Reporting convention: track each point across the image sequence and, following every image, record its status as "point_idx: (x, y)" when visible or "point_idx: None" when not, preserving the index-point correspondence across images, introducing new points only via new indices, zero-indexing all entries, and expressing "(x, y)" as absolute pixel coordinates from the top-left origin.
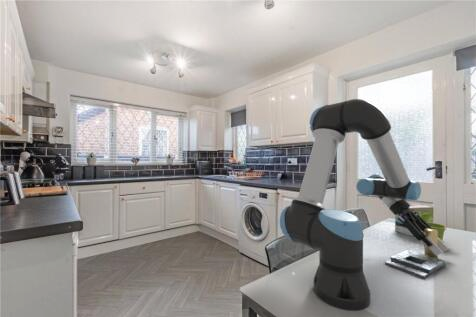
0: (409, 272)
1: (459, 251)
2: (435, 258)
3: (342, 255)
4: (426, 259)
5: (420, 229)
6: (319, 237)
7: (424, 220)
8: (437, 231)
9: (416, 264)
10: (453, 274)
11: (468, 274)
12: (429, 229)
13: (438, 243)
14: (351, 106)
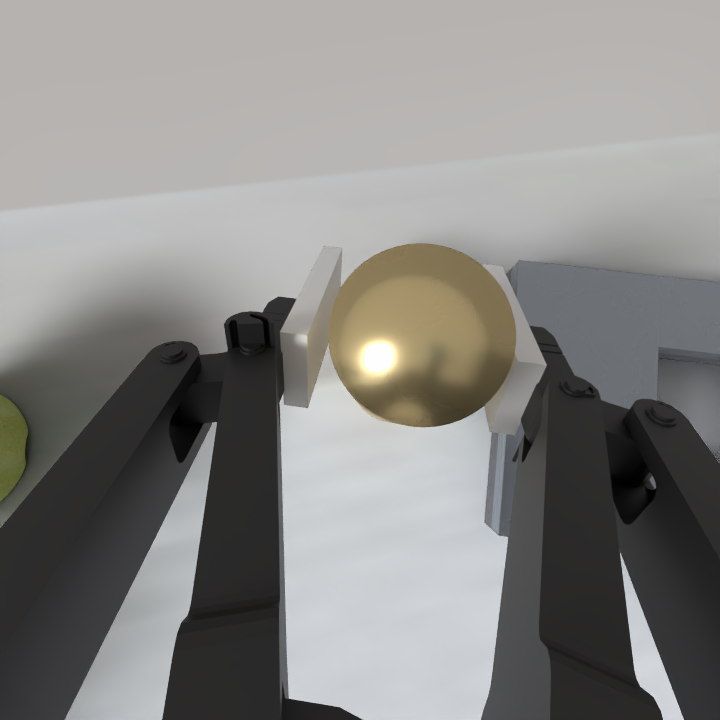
0: None
1: (62, 267)
2: (535, 319)
3: None
4: (627, 360)
5: (563, 464)
6: None
7: (10, 527)
8: (415, 246)
9: None
10: (618, 220)
11: (534, 165)
12: (403, 357)
13: (326, 316)
14: None
